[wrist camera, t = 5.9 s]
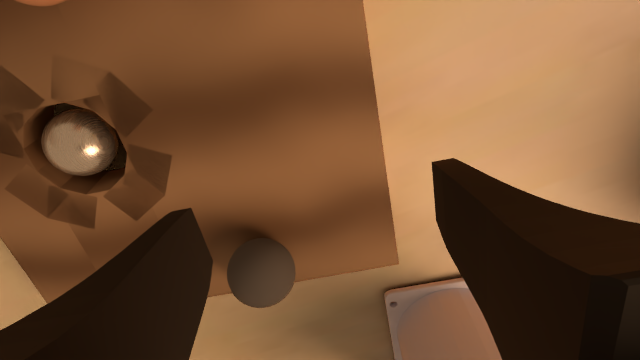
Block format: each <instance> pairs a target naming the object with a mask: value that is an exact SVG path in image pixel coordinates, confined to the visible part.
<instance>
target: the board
mask: <svg viewBox="0 0 640 360" xmlns="http://www.w3.org/2000/svg"><path fill="white" fill-rule="evenodd" d="M59 103H68V104H71V105H75V106H78V107H82V108H85V109H89V110H92V111H94V112H95V113H96V114H98V115H99V116H100V117H101V118H102V119H104V120H105V121H106V122H107V123H108V124H110V125H111V126H112V127H113V128H115V129H116V131H117V133H118V135H119V137H120V139H121V141H122V143H123V146H124V148H125V150H126V152H127V159H126V167H125V168H122V169H117V170H112V171H105V170H102V171H100V172H98V173H96V174H92V175H87V176H76V175H71V174H68V173H65V172H63V171H61V170H59V169H57V168H56V167H55V166H53V165H52V164H51V163H50V162H49V160H48V159H47V158H46V156H45V154H44V152H43V149H42V143H41V139H42V133H43V130H44V128H45V126H46V125H47V123H48V122H49V121H50V120H51V119H52V118H53V116H54V107H55V105H56V104H59ZM187 208H192V211H193V213H194V216H195V218H196V220H197V223H198V225H199V228H200V230H201V232H202V235H203V237H204V240H205V242H206V244H207V247H208V249H209V252H210V254H211V256H212V259H213V266H212V275H211V281H210V288H209V292H208V296H207V297H211V296H217V295H223V294H229V293H232V291H231V289H230V287H229V285H228V281H227V267H228V263H229V261H230V258H231V256H232V255H233V253H234V252H235V251H236V250H237V248H239V247H240V246H241V245H242V244H244V243H245V242H247V241H250V240H253V239H257V238H268V239H272V240H275V241H277V242H279V243H281V244H282V245H283V246H284V247H285V248H286V249H287V250H288V251H289V252H290V254H291V256H292V258H293V260H294V263H295V272H296V274H295V280H294V282H298V281H304V280H310V279H315V278H321V277H327V276H333V275H339V274H344V273H350V272H356V271H362V270H368V269H373V268H379V267H385V266H391V265H396V264H399V261H398V254H397V247H396V239H395V232H394V225H393V218H392V210H391V203H390V196H389V188H388V181H387V174H386V167H385V159H384V152H383V145H382V138H381V130H380V123H379V116H378V108H377V101H376V94H375V87H374V79H373V72H372V65H371V57H370V50H369V43H368V36H367V28H366V21H365V14H364V7H363V0H66V1H64V2H62V3H59V4H56V5H53V6H31V5H26V4H23V3H20V2H17V1H15V0H0V237H1V239H2V240H3V242H4V243H5V244H6V246H7V247H8V249H9V250H10V251H11V253H12V254H13V256H14V257H15V258H16V260H17V261H18V263H19V264H20V265H21V267H22V268H23V270H24V271H25V272H26V274H27V275H28V277H29V278H30V280H31V281H32V282H33V284H34V285H35V287H36V288H37V289H38V291H39V292H40V294H41V295H42V296H43V298H44V299H45V301H46V302H47V303H50V302H51V301H53V300H55V299H56V298H58V297H59V296H61V295H62V294H64V293H65V292H67V291H68V290H70V289H71V288H73V287H74V286H76V285H77V284H79V283H80V282H82V281H83V280H85V279H86V278H87V277H89V276H90V275H92V274H93V273H94V272H95V271H97V270H98V269H99V268H101V267H102V266H103V265H104V264H106V263H107V262H108V261H110V260H111V259H112V258H113V257H115V256H116V255H117V254H119V253H120V252H121V251H122V250H124V249H125V248H126V247H127V246H128V245H130V244H131V243H132V242H133V241H134V240H136V239H137V238H138V237H139V236H140V235H142V234H143V233H144V232H145V231H146V230H148V229H149V228H150V227H151V226H152V225H154V224H155V223H156V222H157V221H159V220H160V219H161V218H163V217H164V216H165V215H167V214H168V213H170V212H172V211H176V210H181V209H187Z"/></svg>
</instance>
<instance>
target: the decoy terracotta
mask: <svg viewBox="0 0 640 360" xmlns="http://www.w3.org/2000/svg"><path fill="white" fill-rule="evenodd" d="M15 1H17V2H20V3H23V4H26V5H31V6H53V5H56V4H59V3H62V2H64V1H66V0H15Z"/></svg>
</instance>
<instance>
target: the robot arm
mask: <svg viewBox="0 0 640 360" xmlns="http://www.w3.org/2000/svg"><path fill="white" fill-rule="evenodd" d="M432 172H433V185H434V198H435V211H436V221H437V224H438V227H439V229H440V232H441V235H442V238H443V240H444V243H445V245H446V248H447V250H448V252H449V254H450V255H451V257H452V259H453V261H454V263H455V265H456V266H457V268H458V270H459V272H460V274H461V276H462V277H463V278H457V279H451V280H445V281H439V282H433V283H427V284H421V285H415V286H409V287H403V288H397V289H391V290H388V291H387V292H385V294H384V299H385V305H386V311H387V316H388V322H389V328H390V334H391V340H392V346H393V352H394V358H395V360H640V224H639V223H633V222H628V221H623V220H618V219H614V218H609V217H605V216H601V215H596V214H592V213H588V212H584V211H581V210H577V209H573V208H570V207H567V206H564V205H561V204H557V203H554V202H551V201H548V200H545V199H542V198H540V197H537V196H534V195H532V194H529V193H527V192H524V191H522V190H520V189H517V188H515V187H512V186H510V185H508V184H506V183H504V182H501V181H499V180H497V179H495V178H493V177H491V176H489V175H487V174H485V173H483V172H481V171H479V170H477V169H475V168H473V167H471V166H469V165H467V164H465V163H463V162H461V161H459V160H457V159H454V158H451V159H446V160H441V161H435V162H432ZM212 266H213V259H212V256H211V254H210V252H209V249H208V247H207V244H206V242H205V240H204V237H203V235H202V232H201V230H200V228H199V225H198V223H197V220H196V218H195V216H194V213H193V211H192V208H187V209H181V210H176V211H172V212H170V213H168V214H167V215H165V216H164V217H163V218H161V219H160V220H159V221H157V222H156V223H155V224H154V225H152V226H151V227H150V228H149V229H148V230H146V231H145V232H144V233H143V234H142V235H140V236H139V237H138V238H137V239H136V240H134V241H133V242H132V243H131V244H130V245H128V246H127V247H126V248H125V249H124V250H122V251H121V252H120V253H119V254H117V255H116V256H115V257H113V258H112V259H111V260H110V261H108V262H107V263H106V264H104V265H103V266H102V267H101V268H99V269H98V270H97V271H95V272H94V273H93V274H92V275H90V276H89V277H87V278H86V279H85V280H83V281H82V282H80V283H79V284H77V285H76V286H74V287H73V288H71V289H70V290H68V291H67V292H65V293H64V294H62V295H61V296H59V297H58V298H56V299H55V300H53V301H51V302H50V303H48V304H46V305H45V306H43V307H41V308H39V309H38V310H36V311H34V312H33V313H31V314H29V315H27V316H26V317H24V318H22V319H21V320H19V321H17V322H15V323H14V324H12V325H10V326H8V327H6V328H4V329H2V330H0V360H189V357H190V354H191V350H192V347H193V344H194V340H195V337H196V334H197V330H198V327H199V324H200V320H201V317H202V314H203V310H204V307H205V303H206V300H207V296H208V292H209V288H210V281H211V275H212ZM391 302H394V303H391Z"/></svg>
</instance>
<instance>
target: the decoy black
mask: <svg viewBox="0 0 640 360" xmlns="http://www.w3.org/2000/svg"><path fill="white" fill-rule="evenodd" d="M295 274H296V272H295V263H294V260H293V258H292V256H291V254H290V252H289V251H288V250H287V249H286V248H285V247H284V246H283V245H282V244H281V243H279V242H277V241H275V240H272V239H268V238H257V239H253V240H250V241H247V242H245V243H244V244H242V245H241V246H240V247H239V248H237V250H236V251H235V252H234V253H233V255H232V256H231V258H230V261H229V263H228V267H227V281H228V285H229V287H230V289H231V291H232V293H233V294H234V296H235V297H236V298H237V299H238V300H239V301H241V302H242V303H244V304H246V305H248V306H251V307H256V308H265V307H269V306H272V305H275V304H277V303H278V302H280V301H281V300H283V299H284V298H285V297H286V296H287V294H288V293H289V292H290V290H291V288H292V286H293V284H294V280H295Z"/></svg>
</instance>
